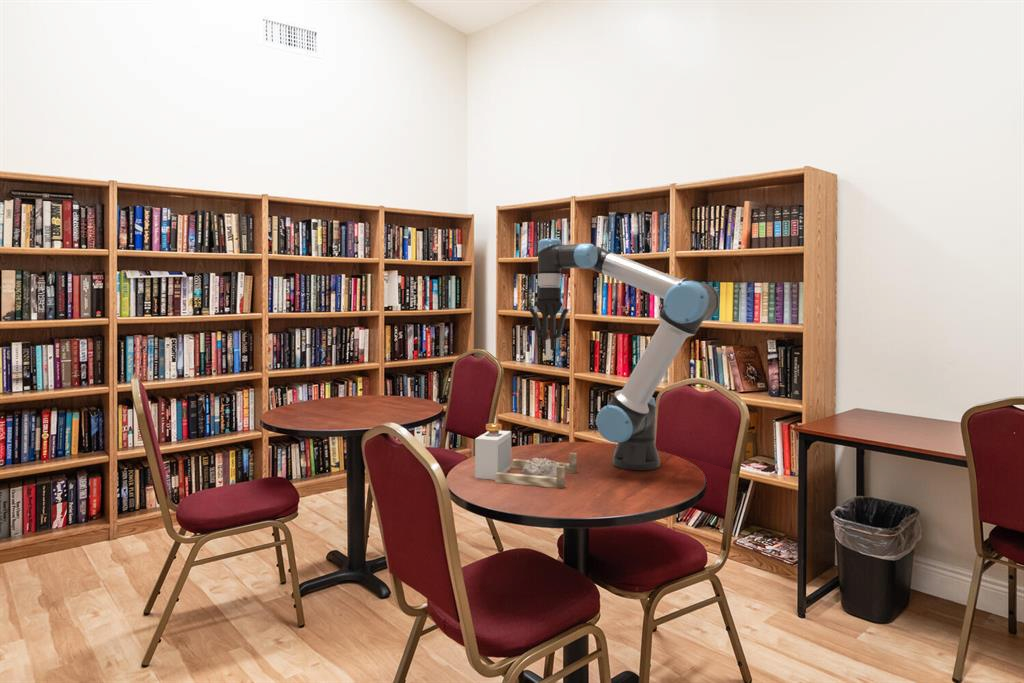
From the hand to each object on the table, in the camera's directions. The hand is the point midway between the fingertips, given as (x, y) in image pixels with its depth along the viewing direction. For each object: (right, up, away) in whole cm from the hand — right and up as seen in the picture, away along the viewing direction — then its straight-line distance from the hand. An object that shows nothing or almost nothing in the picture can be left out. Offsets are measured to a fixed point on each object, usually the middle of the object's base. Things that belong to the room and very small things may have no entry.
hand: (548, 359), depth 216 cm
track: (-4, -35, -15) cm, 39 cm away
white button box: (-18, -35, -11) cm, 41 cm away
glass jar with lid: (-18, -28, -11) cm, 35 cm away
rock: (-3, -36, -16) cm, 39 cm away
